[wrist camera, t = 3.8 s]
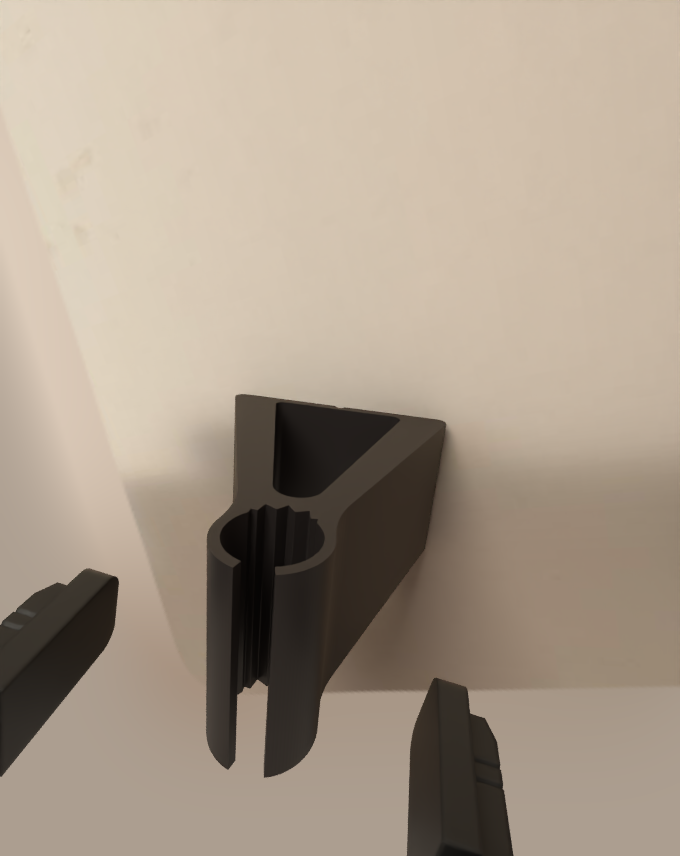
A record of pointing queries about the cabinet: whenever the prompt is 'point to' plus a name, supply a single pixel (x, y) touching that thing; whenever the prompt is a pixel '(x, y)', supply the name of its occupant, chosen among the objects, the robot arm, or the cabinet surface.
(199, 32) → the cabinet surface
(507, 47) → the cabinet surface
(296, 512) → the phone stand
